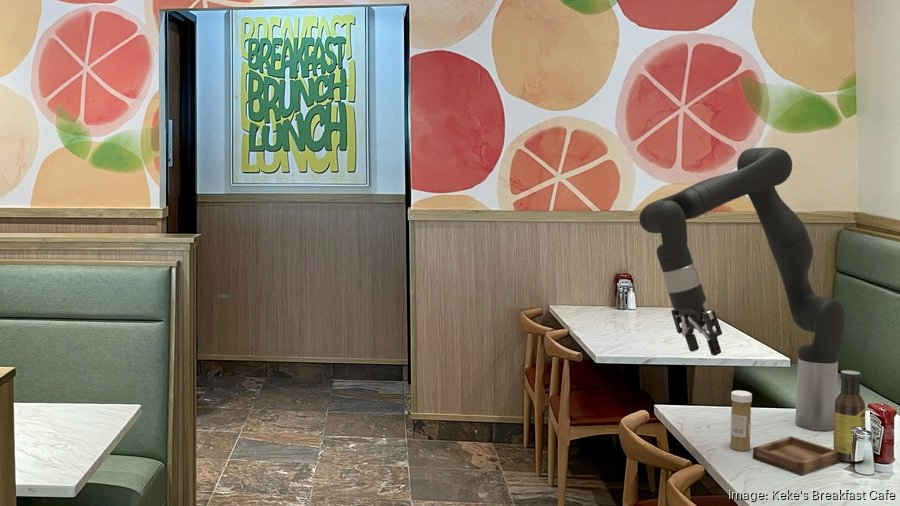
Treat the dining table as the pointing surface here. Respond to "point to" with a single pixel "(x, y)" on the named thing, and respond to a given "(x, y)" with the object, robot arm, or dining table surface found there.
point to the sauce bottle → (848, 413)
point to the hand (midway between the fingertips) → (705, 352)
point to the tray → (796, 455)
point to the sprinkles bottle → (740, 420)
